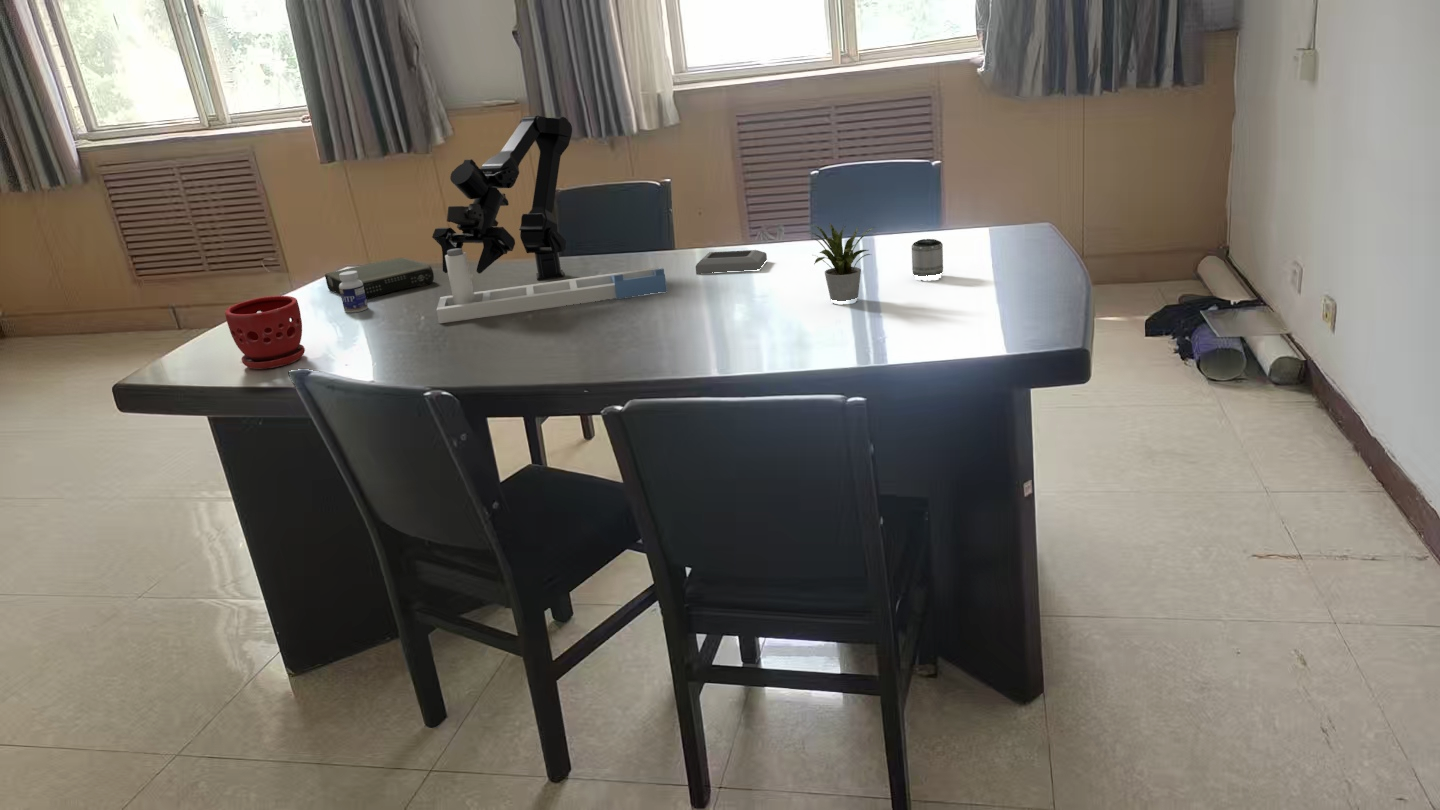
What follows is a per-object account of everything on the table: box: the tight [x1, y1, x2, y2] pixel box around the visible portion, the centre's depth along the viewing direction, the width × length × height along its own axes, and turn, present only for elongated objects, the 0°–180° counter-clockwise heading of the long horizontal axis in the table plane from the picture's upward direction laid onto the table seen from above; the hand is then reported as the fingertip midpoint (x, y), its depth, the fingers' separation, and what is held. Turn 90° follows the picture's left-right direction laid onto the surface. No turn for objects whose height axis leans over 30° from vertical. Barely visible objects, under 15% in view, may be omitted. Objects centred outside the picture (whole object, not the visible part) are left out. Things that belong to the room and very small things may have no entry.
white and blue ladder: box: [436, 266, 668, 324], centre depth 222 cm, size 13×49×5 cm, turn 101°
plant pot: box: [224, 295, 306, 370], centre depth 196 cm, size 13×13×12 cm
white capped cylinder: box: [445, 247, 475, 305], centre depth 218 cm, size 4×4×14 cm
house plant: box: [808, 219, 876, 301], centre depth 197 cm, size 14×14×16 cm
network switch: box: [324, 257, 435, 300], centre depth 255 cm, size 23×24×5 cm
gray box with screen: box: [695, 249, 768, 275], centre depth 236 cm, size 10×4×15 cm
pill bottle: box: [339, 271, 369, 314], centre depth 232 cm, size 5×5×9 cm
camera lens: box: [911, 238, 944, 276], centre depth 209 cm, size 6×6×8 cm
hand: (461, 272), depth 218 cm, fingers open, 9 cm apart
